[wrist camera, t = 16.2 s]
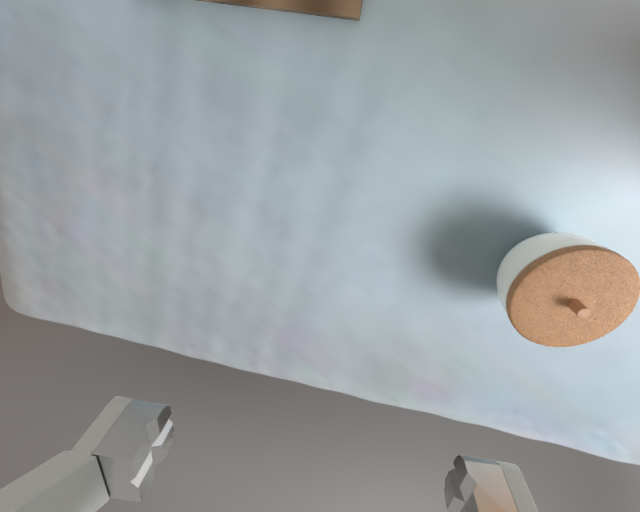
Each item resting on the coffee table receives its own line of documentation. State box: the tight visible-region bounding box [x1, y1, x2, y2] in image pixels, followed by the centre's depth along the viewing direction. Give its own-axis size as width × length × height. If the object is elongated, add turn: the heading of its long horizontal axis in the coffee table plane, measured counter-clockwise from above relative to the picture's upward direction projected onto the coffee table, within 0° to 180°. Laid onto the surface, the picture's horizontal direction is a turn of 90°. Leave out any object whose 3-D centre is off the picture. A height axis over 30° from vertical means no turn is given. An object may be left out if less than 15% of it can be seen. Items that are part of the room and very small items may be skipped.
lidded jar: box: [497, 232, 640, 347], centre depth 33 cm, size 11×11×9 cm
